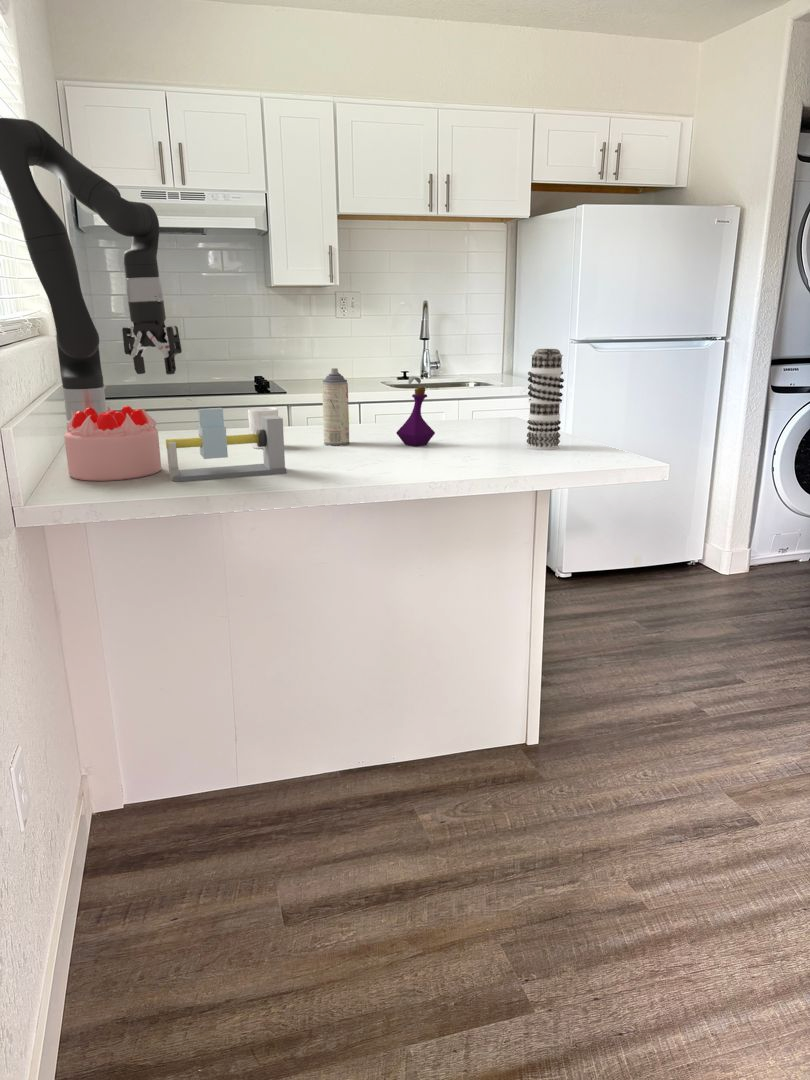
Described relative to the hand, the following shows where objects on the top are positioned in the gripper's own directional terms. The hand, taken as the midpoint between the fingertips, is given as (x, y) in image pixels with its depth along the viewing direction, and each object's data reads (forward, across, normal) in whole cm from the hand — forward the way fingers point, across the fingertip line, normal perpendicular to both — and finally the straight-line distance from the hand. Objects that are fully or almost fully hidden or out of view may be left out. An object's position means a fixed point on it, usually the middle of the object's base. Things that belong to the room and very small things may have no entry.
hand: (155, 373), depth 180 cm
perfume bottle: (+24, +43, +48) cm, 69 cm away
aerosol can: (+24, +22, +42) cm, 53 cm away
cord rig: (+21, +20, -4) cm, 29 cm away
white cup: (+23, +7, +30) cm, 38 cm away
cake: (+21, -5, -12) cm, 24 cm away
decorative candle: (+25, +75, +57) cm, 98 cm away
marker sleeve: (+17, +18, -6) cm, 25 cm away
